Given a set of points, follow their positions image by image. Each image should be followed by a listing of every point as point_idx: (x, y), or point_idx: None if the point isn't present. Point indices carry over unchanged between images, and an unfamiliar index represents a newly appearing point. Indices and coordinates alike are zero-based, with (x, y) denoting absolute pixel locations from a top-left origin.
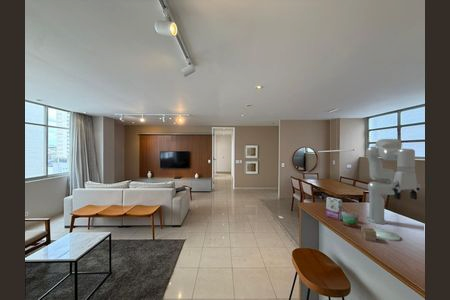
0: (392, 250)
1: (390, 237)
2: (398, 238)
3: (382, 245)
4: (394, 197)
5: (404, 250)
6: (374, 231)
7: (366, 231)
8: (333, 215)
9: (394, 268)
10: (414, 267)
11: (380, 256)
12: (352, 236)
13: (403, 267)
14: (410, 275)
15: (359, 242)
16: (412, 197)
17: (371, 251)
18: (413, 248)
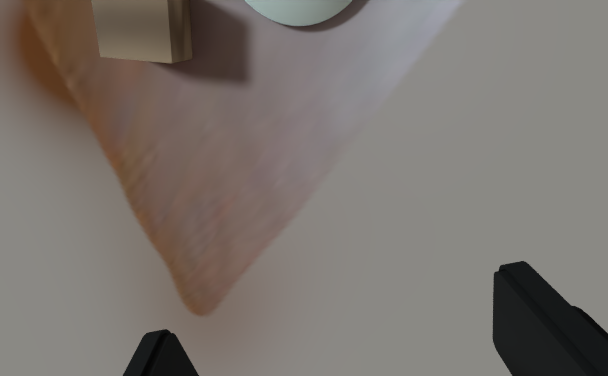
0: (232, 153)
1: (294, 6)
2: (338, 12)
3: (207, 108)
4: (140, 342)
5: (289, 142)
6: (163, 56)
7: (112, 57)
8: None
9: (174, 278)
10: (245, 261)
11: (156, 215)
12: (66, 12)
13: (207, 268)
14: (205, 302)
15: (95, 96)
16: (507, 324)
17: (131, 182)
18: (350, 110)
